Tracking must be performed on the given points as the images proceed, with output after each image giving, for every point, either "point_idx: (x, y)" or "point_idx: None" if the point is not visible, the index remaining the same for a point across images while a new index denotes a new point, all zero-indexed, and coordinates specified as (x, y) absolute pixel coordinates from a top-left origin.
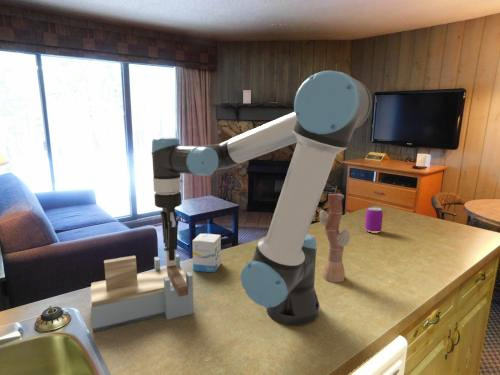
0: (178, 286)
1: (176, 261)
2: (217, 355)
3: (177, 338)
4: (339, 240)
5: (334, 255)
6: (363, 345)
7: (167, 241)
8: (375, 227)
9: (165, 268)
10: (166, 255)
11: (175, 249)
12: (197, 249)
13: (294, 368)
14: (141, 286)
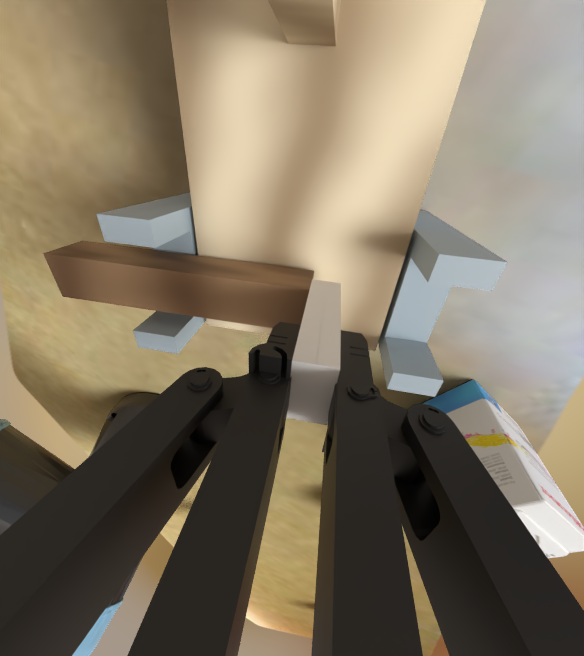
0: (59, 258)
1: (389, 356)
2: (39, 252)
3: (108, 186)
4: None
5: None
6: (65, 431)
7: (217, 446)
8: None
9: (406, 288)
10: (301, 330)
11: (287, 411)
12: (491, 463)
13: (13, 344)
14: (250, 71)
